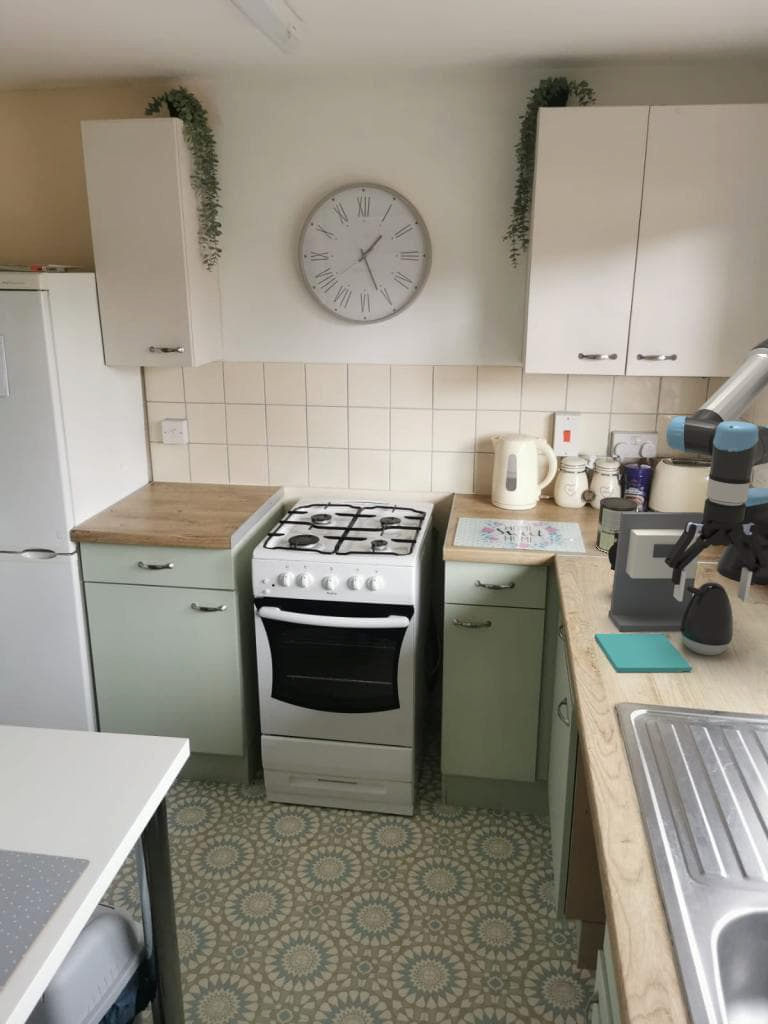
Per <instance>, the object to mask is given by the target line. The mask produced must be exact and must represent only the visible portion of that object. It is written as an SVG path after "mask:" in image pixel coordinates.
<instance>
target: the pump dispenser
mask: <svg viewBox="0 0 768 1024" xmlns="http://www.w3.org/2000/svg"><path fill="white" fill-rule="evenodd" d="M687 591H690V592H691V593H693V596H692V598H691V600H690V602H689V604H688V606H687V608H686V610H685V613H684V616H683V619H682V622H681V627H680V633H681V638H682V642H683V643H684V645H685V646H686V647H687V648H688V649H689V650H690V651H692V652H694V653H696V654H699V655H703V656H716V655H718V654H721V653H722V652H724V651H725V650H726V649H727V648H728V647H729V645H730V643H731V642H732V640H733V635H734V619H733V618H734V617H733V609H732V605H731V604H732V603H731V601H730V598H729V595H728V592H727V590H726V589H725V587H724V586H723V585H721V584H719V583H717V582H713V581H709V582H705V583H703V584H702V585H700V586H699V587H698V588H697V587H695V586H694V587H691V586H688V587H687Z"/></svg>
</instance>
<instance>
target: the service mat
mask: <svg viewBox="0 0 768 1024" xmlns="http://www.w3.org/2000/svg"><path fill="white" fill-rule="evenodd" d="M594 639H595V640H596V642H597V644H598V645H599V647H600V648H601V650H602V652H603V653H604V654H605V656H606V658H607V660H608V661H609V662H610V664H611V665H612V668H614V670H615V671H616V673H678V672H677V671H691V672H692V669H693V667H692V665H690V663H689V662H688V661H687V660H686V659H685V657H684V656H683V655H682V654H681V653H680V652H679V650H678V649H677V648H676V647H675V646H674V644H673V643H672V642H671V641H670V640H669V639H668V638H667V636H666V635H665V634H664V633H594Z"/></svg>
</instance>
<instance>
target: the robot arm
mask: <svg viewBox="0 0 768 1024" xmlns="http://www.w3.org/2000/svg"><path fill="white" fill-rule="evenodd" d="M767 388H768V338H766V339H764V340H762V341H761V342H759V343H758V344H756V345H755V346H753V348H752V349H751V350H749V352H748V353H746V355H745V357H744V358H743V362H742V365H741V366H739V368H738V369H737V370H736V371H735V372H734V373H733V374H732V375H731V376H730V377H729V378H728V379H727V380H726V381H725V382H724V383H723V384H722V385H721V386H720V387H719V388H718V389H717V390H716V391H715V392H714V393H713V394H712V395H711V396H710V397H709V398H708V399H707V400H706V401H705V402H704V403H703V405H701V406H700V407H699V408H698V409H697V410H696V411H695V412H694V413H693V414H692V415H691V416H688V415H684V416H681V415H678V416H674V417H673V418H672V419H671V420H670V421H669V424H668V425H667V428H666V433H665V438H666V444H667V446H668V448H670V449H672V450H676V451H679V452H683V453H685V454H691V455H699V456H703V457H710V458H711V460H710V461H711V462H710V467H709V474H708V481H707V488H706V494H705V496H706V499H705V501H704V505H703V506H704V507H703V512H702V513H703V521H702V523H701V524H695V523H692V522H691V521H688V522H687V523H686V525H685V529H684V532H683V534H682V535H681V537H680V538H679V540H678V541H677V543H676V544H675V546H674V547H673V548H672V550H671V551H670V553H669V554H668V556H667V557H666V559H665V563H666V564H667V565H668V566H669V567H670V568H673V573H672V582H673V583H674V584H675V588H674V594H673V596H674V597H675V598H676V599H677V600H678V601H682V599H683V592H684V585H685V578H686V571H685V570H684V568H685V567H686V566H687V565H688V564H689V563H690V562H691V561H692V560H693V559H694V558H695V557H696V556H698V557H699V555H700V554H701V553H702V552H703V551H704V550H705V549H708V548H709V547H710V546H711V545H712V546H713V547H719V546H724V547H725V548H724V549H723V551H722V553H721V555H720V557H719V558H718V561H717V568H716V569H717V571H718V572H719V574H721V575H723V576H724V577H727V578H728V579H732V580H735V581H739V585H738V591H737V598H738V599H740V600H741V601H742V602H743V603H747V602H748V601H749V593H750V587H751V586H754V585H755V584H759V585H761V584H762V585H766V584H768V487H752V488H750V485H751V484H750V483H751V478H752V473H753V467H755V466H761V465H766V464H768V426H767V425H756V424H754V423H750V422H746V421H738V419H739V418H740V417H741V416H742V415H743V414H744V413H745V411H746V410H748V409H749V407H751V405H752V404H753V403H754V402H755V401H756V400H757V399H758V397H760V396H761V395H762V394H763V393H764V391H766V389H767ZM699 530H700V531H701V533H702V534H701V535H700V536H699V537H698V538H697V539H696V541H695V542H694V543H693V544H692V545H691V546H690V547H689V548H688V549H687V547H688V546H689V544H690V543H691V541H692V540H693V538H694V536H695V534H697V533H698V531H699ZM686 549H687V550H686ZM685 550H686V551H685Z"/></svg>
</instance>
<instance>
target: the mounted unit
mask: <svg viewBox="0 0 768 1024" xmlns="http://www.w3.org/2000/svg"><path fill="white" fill-rule="evenodd" d="M688 521H691V522H692V523H695V524H701V523H702V521H703V512H700V511H699V512H698V511H697V512H696V511H695V512H694V511H693V512H692V511H690V512H688V511H686V512H685V511H684V512H683V511H682V512H679V511H675V512H674V511H673V512H672V511H667V512H666V511H660V512H659V511H642V512H641V511H636V512H621V518H620V527H619V536H618V545H617V554H616V563H615V571H614V574H613V583H612V592H611V600H610V608H609V610H608V615H607V616H608V618H609V620H610V621H611V622H612V623H613V624H614V626H615V627H616V629H617V630H618V632H621V633H622V632H626V633H627V632H628V633H629V632H630V633H631V632H633V633H636V632H638V633H639V632H640V633H641V632H643V633H644V632H645V633H646V632H649V633H650V632H654V633H655V632H658V633H660V632H662V633H664V632H667V633H668V632H669V633H670V632H672V633H673V632H674V633H675V632H676V633H677V632H680V627H681V622H682V619H683V616H684V613H685V610H686V608H687V606H688V604H689V602H690V600H691V598H692V597H693V595H694V594H693V593H691V592H690V591H687V587H688V586H691V587H694V588H695V583H696V582H695V581H696V574H697V569H698V560H699V555H698V556H696V557H695V558H694V559H693V560H692V561H691V562H690V563H689V564H688V565H687V566H686V567H685V568H684V570H685V571H686V578H685V585H684V592H683V599H682V601H678V600H677V599H676V598H675V597H674V596H673V594H674V588H675V584H674V583H673V582H672V573H673V568H670V567H669V566H668V565H667V564H666V563H665V559H666V557H667V556H668V554H669V553H670V551H671V550H672V548H673V547H674V546H675V544H676V543H677V541H678V540H679V538H680V537H681V535H682V534H683V532H684V529H685V525H686V523H687V522H688ZM701 534H702V533H701V531H700V530H699V531H698V533H697V534H695V536H694V538H693V540H692V541H691V543H690V544H689V546H688V547H687V549H688V548H689V547H690V546H691V545H692V544H693V543H694V542H695V541H696V539H697V538H698V537H699V536H700V535H701ZM687 549H686V550H687ZM686 550H685V551H686ZM680 633H681V632H680Z"/></svg>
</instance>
